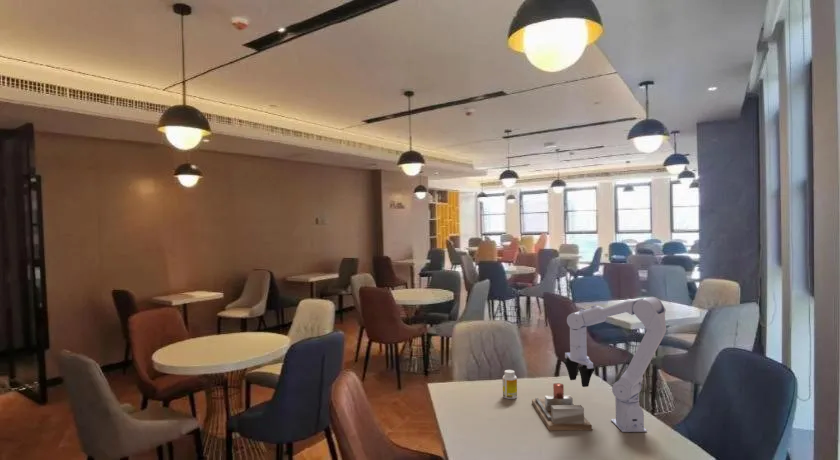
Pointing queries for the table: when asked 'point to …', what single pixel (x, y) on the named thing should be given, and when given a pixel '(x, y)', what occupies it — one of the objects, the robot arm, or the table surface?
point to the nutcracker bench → (560, 426)
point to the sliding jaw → (558, 397)
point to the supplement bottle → (509, 384)
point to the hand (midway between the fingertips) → (579, 383)
